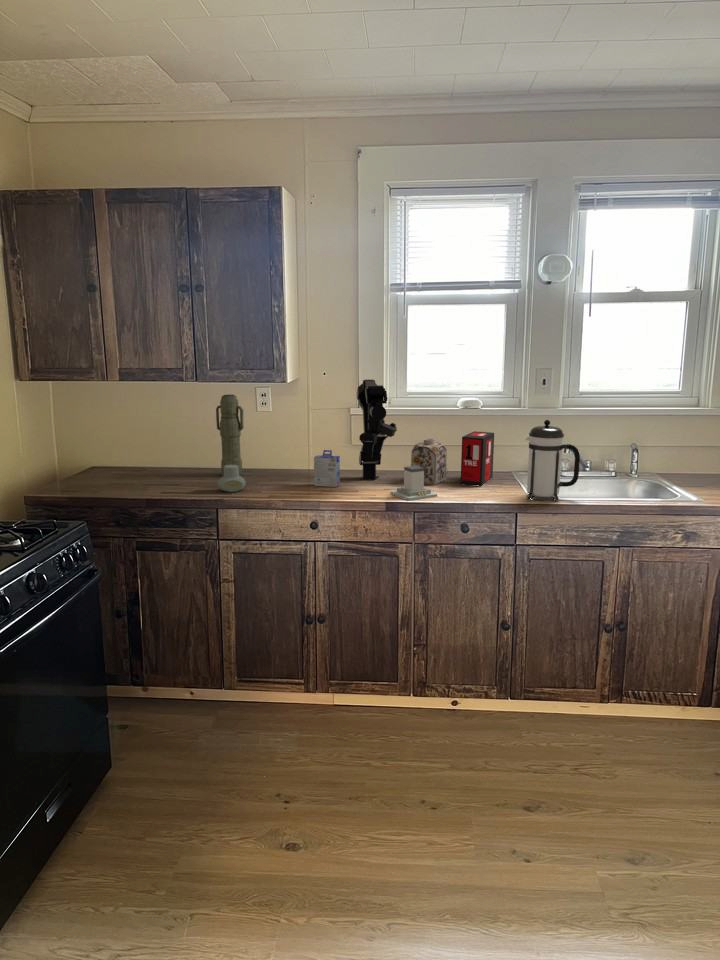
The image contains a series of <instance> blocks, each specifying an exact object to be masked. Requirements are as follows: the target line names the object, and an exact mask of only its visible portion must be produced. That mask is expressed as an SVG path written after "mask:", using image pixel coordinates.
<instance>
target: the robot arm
mask: <svg viewBox="0 0 720 960" xmlns="http://www.w3.org/2000/svg"><path fill="white" fill-rule="evenodd" d="M356 391H357V392H356V401H357V400H358V405H359V407H360V408H361V411H362V423H363V426H362V427H363V432H362V433H360V435H359V436H358V437H359V441H360V443H361V444H362V446H361V449H360V451H359V455H358V464H359V465H360V466H362V476H361V477H359V479H360V480H367V481H369V480H370V481H375V480H377V479H379V478H380V476H378V475H377V465H378V466H380V465H381V463H382V462H381V461H382V453H381V452H382V450H383V446H384V442H385V440H387V438H392V437H394V436H395V435H396V432H397V431H398V430H397V429H398V428H397V424H396V423H395V422H390V423H385V422H386V421H385V418H386V416H387V410H386V408H385V407H384V406H383V404H387V403H388V393H387V391H386V388H385V387H384V385H381V384H379V385H378V384H377V382H376V380H375V379H362V383H361V384H360V385H358V387H357V390H356Z"/></svg>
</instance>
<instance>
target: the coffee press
mask: <svg viewBox="0 0 720 960" xmlns="http://www.w3.org/2000/svg"><path fill="white" fill-rule="evenodd" d="M543 424H544V425H537V426H534V427H532V429H531V430H530V432H528V434H527V436H526V437H525V439H524V441H527V442H528V464H527V466H528V467H527V485H526V492H527V493H526V494H528V493H529V494H528V496H527V500H528V499H530V498H531V499H532V500H534V498H536V497H538V498H550V499H552V500H554V499H556V500H559V501H560V499H559V496H558V495H559V493H560V488H561V487H571V486H572V487H573V486H574V485H575V484H576V483H577V481H578V479H579V475H580V461H581V459H580V458H581V457H580V452H579V449H578V448H577V446H575V445H573V444H571V443H570V444H569V443H567V444H563V442H564V440H563V439H564V437H565V434H564V432H563V430H562V429H561V428H560V427H558V426H553V425H551V420H550V419H546V420H544V421H543ZM563 449H565V450H570V451H572V452H573V454H574V464H573V476H572V478H571V480H570V481H561V470H562V459H563V456H562V455H563Z"/></svg>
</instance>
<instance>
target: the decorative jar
mask: <svg viewBox="0 0 720 960" xmlns="http://www.w3.org/2000/svg"><path fill="white" fill-rule="evenodd" d="M447 459H448V457H447V448H446V447H445V445H444V444H442V443H441V442H436V439H435V438H424V439H423V441H421V442H418V443H415V444H414V446H413V448H412V449H411V459H410V461H411V462H410V466H420V467H423V468H424V485H425V484H426V485H432V486H433V485H434V486H436V485H438V484H440V482H441V483H442V482H444V480H445V481H446V480H447Z"/></svg>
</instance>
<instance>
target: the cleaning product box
mask: <svg viewBox="0 0 720 960" xmlns="http://www.w3.org/2000/svg"><path fill="white" fill-rule="evenodd" d="M494 448H495V432H490V431H489V432H487V431H485V432H484V431H472V432H469V433H467V434H466V435H463V436H462V437H461V456H460V457H461V459H460V460H461V461H460V462H461V464H460V485H461V484H465V485H464V486H469V485H479V486H482V485H483V484H484V483H486V482H487V481H488V480H490V479H491V478H492V479H493V471H494V470H493V469H494V451H495V450H494ZM490 481H491V480H490ZM487 483H488V482H487ZM487 483H486V484H487ZM479 486H478V487H479ZM483 486H484V485H483ZM483 486H482V487H483Z"/></svg>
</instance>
